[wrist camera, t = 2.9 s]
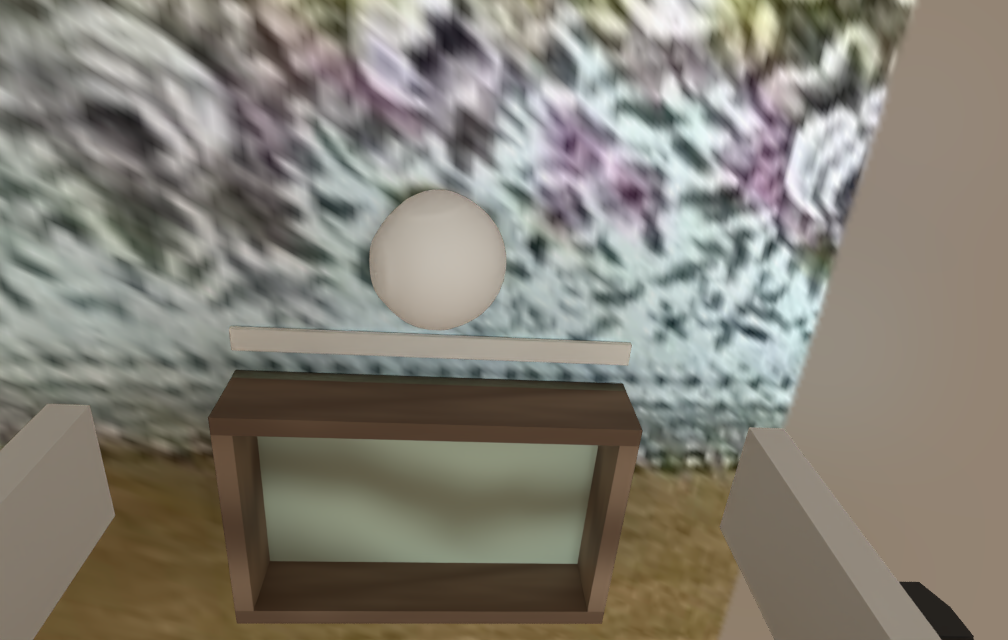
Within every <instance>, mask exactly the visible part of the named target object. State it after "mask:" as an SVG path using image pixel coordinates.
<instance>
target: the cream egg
mask: <svg viewBox="0 0 1008 640" xmlns="http://www.w3.org/2000/svg"><path fill="white" fill-rule="evenodd" d="M369 264H370V275H371V280H372V284H373V287H374V289H375V292H376V293H377V295H378V296H379V298H380V299H381V300H382V301H383V302H384V303H385V304H386V306H387V307H388V308H389V309H390V310H391V311H392V312H393V313H395V314H396V315H397V316H398V317H399V318H401V319H402V320H403V321H405V322H407V323H409V324H411V325H413V326H416V327H419V328H423V329H429V330H447V329H451V328H454V327H458V326H461V325H463V324H466V323H468V322H470V321H472V320H473V319H475V318H477V317H478V316H479V315H481V314H482V313H483V312H484V311H485V310H486V309H487V308H488V307H489V306H490V305H491V304H492V302H493V301H494V300H495V298H496V296H497V295H498V293H499V291H500V289H501V286H502V283H503V280H504V276H505V271H506V252H505V246H504V242H503V239H502V236H501V234H500V232H499V230H498V228H497V226H496V224H495V223H494V221H493V220H492V219H491V218H490V216H489V215H488V214H487V213H486V212H485V211H484V210H483V209H482V208H481V207H479V206H478V205H477V204H475V203H474V202H473V201H471V200H469V199H468V198H466V197H464V196H462V195H459V194H457V193H455V192H452V191H449V190H429V191H424V192H421V193H418V194H416V195H414V196H412V197H410V198H408V199H406V200H405V201H404V202H402V203H401V204H400V205H399V206H398V207H397V208H396V209H395V210H394V211H393V212H392V213H391V214H390V215H389V216H388V217H387V218H386V219H385V220H384V222H383V223H382V225H381V226H380V228H379V230H378V231H377V233H376V234H375V236H374V238H373V240H372V243H371V247H370V258H369Z"/></svg>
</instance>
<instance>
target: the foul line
mask: <svg viewBox="0 0 1008 640" xmlns="http://www.w3.org/2000/svg"><path fill="white" fill-rule="evenodd" d="M229 334H230V342H231V350H238V351H264V352H290V353H316V354H342V355H369V356H395V357H421V358H447V359H474V360H500V361H526V362H552V363H578V364H605V365H628V363H629V358H630V353H631V347H632V345H631V343H626V342H602V341H578V340H553V339H529V338H505V337H481V336H457V335H433V334H409V333H385V332H361V331H336V330H312V329H288V328H264V327H240V326H230V328H229Z"/></svg>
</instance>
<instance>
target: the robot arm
mask: <svg viewBox="0 0 1008 640" xmlns="http://www.w3.org/2000/svg"><path fill="white" fill-rule="evenodd" d="M114 516H115V513H114V508H113V504H112V500H111V495H110V491H109V487H108V482H107V478H106V474H105V469H104V465H103V461H102V456H101V452H100V448H99V443H98V439H97V434H96V430H95V426H94V421H93V417H92V413H91V408H90V405H70V404H47V405H46V406H45V407H44V408H43V409H42V410H41V411H40V412H39V413H38V414H37V415H36V416H35V417H34V418H33V419H32V420H31V421H30V422H29V423H28V424H27V425H26V426H25V427H24V428H23V429H22V430H21V431H20V432H19V433H18V434H17V435H16V436H14V437H13V438H12V439H11V440H10V441H9V442H8V443H7V444H6V445H5V446H4V447H3V448H2V449H1V450H0V640H33V639H34V637H35V636H36V634H37V633H38V631H39V630H40V628H41V627H42V625H43V624H44V622H45V621H46V619H47V618H48V616H49V615H50V613H51V612H52V610H53V609H54V607H55V606H56V604H57V603H58V601H59V600H60V598H61V597H62V595H63V594H64V592H65V591H66V589H67V588H68V586H69V584H70V583H71V581H72V580H73V578H74V577H75V575H76V574H77V572H78V571H79V569H80V568H81V566H82V565H83V563H84V562H85V560H86V559H87V557H88V556H89V554H90V553H91V551H92V550H93V548H94V547H95V545H96V544H97V542H98V541H99V539H100V538H101V536H102V535H103V533H104V532H105V530H106V529H107V527H108V526H109V524H110V523H111V521H112V520H113V518H114ZM720 529H721V531H722V533H723V535H724V537H725V539H726V541H727V544H728V546H729V548H730V550H731V552H732V554H733V556H734V558H735V560H736V562H737V564H738V566H739V568H740V570H741V572H742V574H743V576H744V578H745V581H746V582H747V585H748V586H749V589H750V591H751V593H752V595H753V597H754V599H755V601H756V603H757V605H758V607H759V609H760V611H761V613H762V615H763V618H764V619H765V622H766V624H767V626H768V628H769V630H770V632H771V634H772V636H773V638H774V640H974V639H973V637H974V636H973V635H972V634H971V632H970V631H969V630H968V629H967V628H966V626H965V625H964V624H963V622H962V621H961V620H960V619H959V618H958V616H957V615H956V614H955V612H954V611H953V610H952V609H951V607H949V606H948V605H947V604H946V603H944V602H943V601H942V600H940V598H938V597H937V596H936V595H935V594H933V593H932V592H931V591H929V590H928V589H927V588H926V587H925V586H923V585H922V584H921V583H920V582H898V580H897V579H896V578H895V576H894V575H893V574H892V572H891V571H890V570H889V569H888V567H887V566H886V564H885V563H884V562H883V560H882V559H881V558H880V556H879V555H878V554H877V552H876V551H875V550H874V548H873V547H872V546H871V544H870V543H869V542H868V541H867V539H866V538H865V537H864V535H863V534H862V532H861V531H860V530H859V528H858V527H857V526H856V524H855V523H854V521H853V520H852V519H851V518H850V516H849V515H848V513H847V512H846V511H845V509H844V508H843V507H842V505H841V504H840V503H839V502H838V500H837V499H836V497H835V496H834V495H833V493H832V492H831V491H830V489H829V488H828V487H827V485H826V484H825V483H824V481H823V480H822V479H821V477H820V476H819V475H818V473H817V472H816V471H815V469H814V468H813V467H812V465H811V464H810V462H809V461H808V460H807V458H806V457H805V456H804V454H803V453H802V452H801V450H800V449H799V448H798V447H797V445H796V444H795V442H794V441H793V440H792V438H791V437H790V436H789V434H788V433H787V432H786V430H785V429H780V428H751V427H749V430H748V433H747V437H746V440H745V443H744V447H743V450H742V454H741V457H740V460H739V464H738V467H737V471H736V474H735V477H734V481H733V484H732V487H731V491H730V494H729V498H728V501H727V504H726V508H725V511H724V514H723V518H722V521H721V525H720Z"/></svg>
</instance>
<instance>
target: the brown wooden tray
mask: <svg viewBox="0 0 1008 640" xmlns="http://www.w3.org/2000/svg"><path fill="white" fill-rule="evenodd" d="M208 421H209V428H210V435H211V442H212V449H213V456H214V464H215V471H216V478H217V485H218V492H219V499H220V506H221V513H222V521H223V528H224V535H225V542H226V549H227V556H228V563H229V570H230V578H231V585H232V592H233V599H234V606H235V613H236V620H237V623H452V624H602V620H603V615H604V610H605V606H606V601H607V596H608V591H609V587H610V582H611V577H612V572H613V568H614V563H615V558H616V553H617V549H618V544H619V539H620V535H621V530H622V525H623V520H624V516H625V511H626V506H627V501H628V497H629V492H630V487H631V482H632V478H633V473H634V468H635V464H636V459H637V454H638V449H639V445H640V440H641V435H642V428H641V426H640V423H639V421H638V418H637V416H636V414H635V411H634V409H633V407H632V404H631V402H630V400H629V397H628V395H627V393H626V390H625V388H624V386H623V384H612V383H584V382H556V381H527V380H499V379H471V378H443V377H414V376H386V375H358V374H330V373H301V372H273V371H245V370H236V371H235V372H234V374H233V376H232V377H231V379H230V381H229V383H228V384H227V386H226V388H225V390H224V391H223V393H222V395H221V396H220V398H219V400H218V402H217V403H216V405H215V407H214V408H213V410H212V412H211V414H210V415H209V417H208Z"/></svg>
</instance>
